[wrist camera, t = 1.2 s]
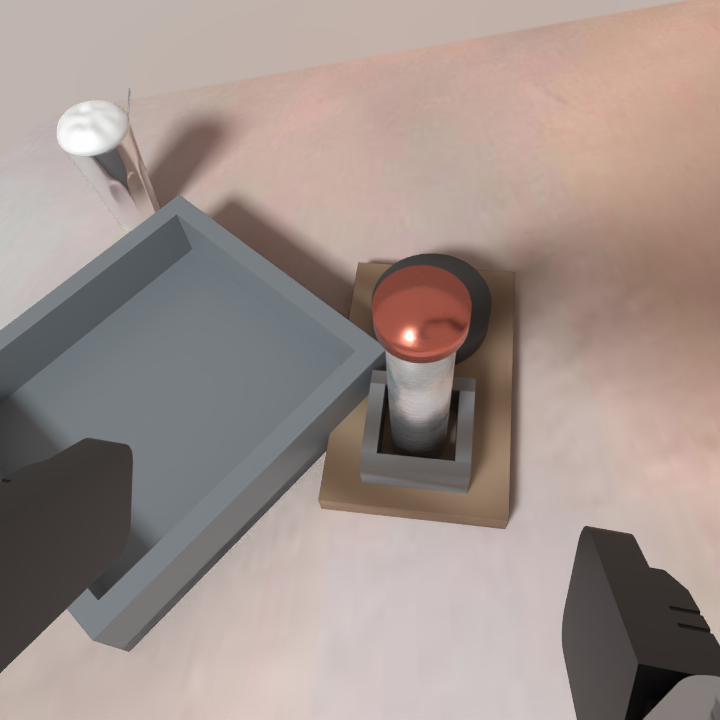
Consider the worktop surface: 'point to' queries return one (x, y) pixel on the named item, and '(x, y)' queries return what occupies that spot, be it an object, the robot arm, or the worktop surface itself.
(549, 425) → the worktop surface
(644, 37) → the worktop surface
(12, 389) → the tray
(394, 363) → the pin
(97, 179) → the milkshake
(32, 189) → the worktop surface
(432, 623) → the worktop surface
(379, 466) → the wooden stand
